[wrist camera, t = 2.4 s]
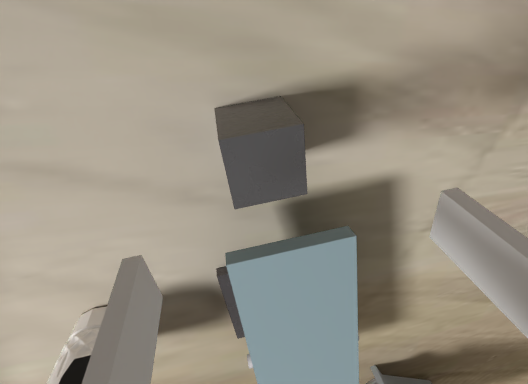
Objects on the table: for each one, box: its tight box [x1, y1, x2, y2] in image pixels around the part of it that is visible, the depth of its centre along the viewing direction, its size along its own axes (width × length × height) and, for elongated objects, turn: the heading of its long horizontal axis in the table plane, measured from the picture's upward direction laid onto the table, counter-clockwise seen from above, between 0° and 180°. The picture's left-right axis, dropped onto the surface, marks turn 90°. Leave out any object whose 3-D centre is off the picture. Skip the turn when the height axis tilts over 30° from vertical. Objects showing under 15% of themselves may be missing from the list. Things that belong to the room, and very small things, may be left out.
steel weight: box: [215, 96, 307, 209], centre depth 20 cm, size 5×5×6 cm
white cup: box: [46, 307, 107, 384], centre depth 28 cm, size 8×8×10 cm
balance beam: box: [225, 226, 359, 384], centre depth 28 cm, size 26×11×2 cm, turn 7°
